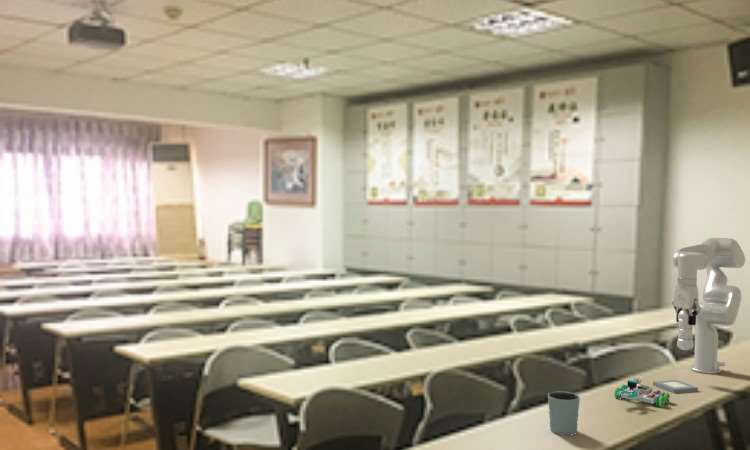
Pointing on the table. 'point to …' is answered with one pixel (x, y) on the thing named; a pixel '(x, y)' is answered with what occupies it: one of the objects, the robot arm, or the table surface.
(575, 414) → the grey blue cup
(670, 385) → the grey flat square slab
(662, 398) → the robot kit
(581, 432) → the table surface
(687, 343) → the plastic bottle
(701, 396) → the table surface
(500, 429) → the table surface
